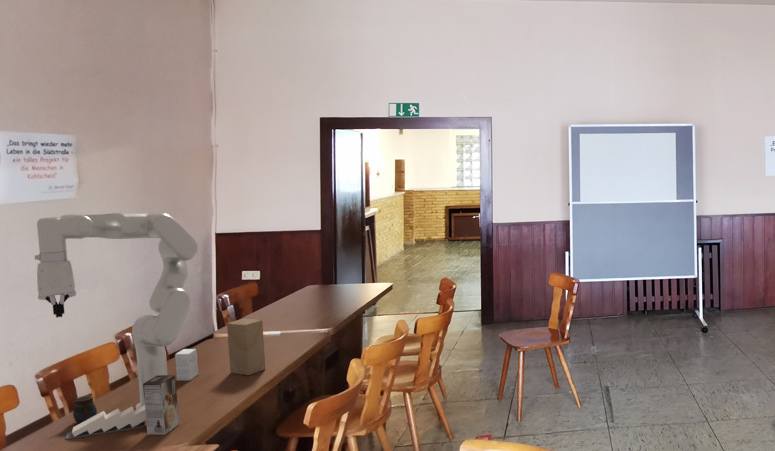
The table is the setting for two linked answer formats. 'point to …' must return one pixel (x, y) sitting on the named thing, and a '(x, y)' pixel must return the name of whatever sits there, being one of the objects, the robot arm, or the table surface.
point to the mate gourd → (84, 408)
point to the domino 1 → (89, 423)
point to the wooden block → (246, 346)
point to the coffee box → (161, 404)
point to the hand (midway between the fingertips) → (59, 316)
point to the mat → (100, 431)
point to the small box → (186, 364)
